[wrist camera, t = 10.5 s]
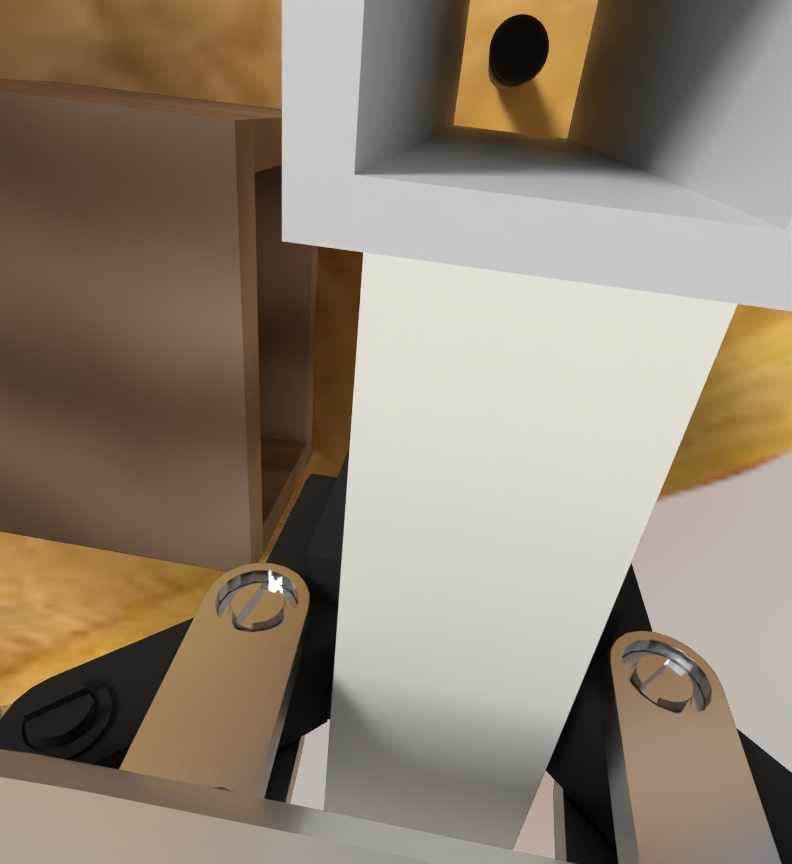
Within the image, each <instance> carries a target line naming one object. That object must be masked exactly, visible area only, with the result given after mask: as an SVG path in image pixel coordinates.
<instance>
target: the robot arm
mask: <svg viewBox="0 0 792 864" xmlns="http://www.w3.org/2000/svg"><path fill="white" fill-rule="evenodd" d="M349 449H350V448H349ZM348 464H349V451H348V453H347V455H346V458H345V460H344V463H343V465H342V468H341V470H340V472H339V475H338V477H337V478H335V477H329V476H323V475H318V474H311V475H310V476H309V477H308V479H307V481H306V483H305V485H304V487H303V489H302V491H301V493H300V495H299V497H298V499H297V501H296V503H295V505H294V507H293V509H292V511H291V513H290V515H289V517H288V519H287V521H286V523H285V525H284V528H283V530H282V532H281V534H280V536H279V538H278V540H277V542H276V544H275V546H274V548H273V550H272V552H271V554H270V556H269V558H268V560H267V562H266V563H254V564H249V565H243V566H240V567H237V568H235V569H233V570H231V571H228V572H226V573H225V574H224V575H222V576H221V577H220V578H218V579H217V580H216V581H215V582H214V583H213V585H212V586H211V587H210V589H209V590H208V591H207V593H206V595H205V597H204V599H203V601H202V603H201V605H200V607H199V609H198V611H197V613H196V615H195V617H194V618H192V619H190V620H187V621H185V622H182V623H180V624H178V625H175V626H173V627H170V628H168V629H166V630H163V631H161V632H159V633H156V634H154V635H151V636H149V637H147V638H144V639H142V640H139V641H137V642H135V643H132V644H130V645H127V646H125V647H123V648H120V649H118V650H115V651H113V652H111V653H108V654H106V655H103V656H101V657H99V658H96V659H94V660H91V661H89V662H87V663H84V664H82V665H79V666H77V667H75V668H72V669H70V670H68V671H65V672H63V673H60V674H58V675H56V676H53V677H51V678H49V679H47V680H45V681H43V682H41V683H40V684H38V685H36V686H34V687H32V688H31V689H29V690H28V691H27V692H26V693H24V694H23V695H22V696H21V697H19V698H18V699H17V700H16V701H15V702H14V703H13V704H9V705H4V706H0V864H792V773H791V772H790V771H789V770H787V769H786V768H785V767H784V766H782V765H781V764H780V763H779V762H778V761H776V760H775V759H774V758H773V757H771V756H770V755H769V754H768V753H766V752H765V751H764V750H763V749H761V748H760V747H759V746H758V745H757V744H755V743H754V742H753V741H752V740H750V739H749V738H748V737H746V736H745V735H744V734H743V733H742V732H740V731H739V730H738V729H737V728H736V726H735V723H734V720H733V717H732V714H731V711H730V708H729V705H728V702H727V699H726V696H725V693H724V690H723V687H722V685H721V683H720V681H719V679H718V677H717V675H716V673H715V672H714V671H713V670H712V668H711V667H710V666H709V665H708V664H707V662H706V661H705V660H704V659H703V658H702V657H701V656H699V655H698V654H697V653H696V652H694V651H693V650H692V649H691V648H689V647H688V646H686V645H684V644H683V643H681V642H679V641H677V640H675V639H673V638H671V637H668V636H665V635H662V634H659V633H656V632H652V628H651V625H650V622H649V619H648V615H647V612H646V609H645V606H644V602H643V600H642V596H641V593H640V590H639V586H638V583H637V580H636V577H635V573H634V570H633V567H632V564H630V567H629V569H628V571H627V574H626V576H625V579H624V581H623V584H622V586H621V588H620V591H619V593H618V596H617V598H616V601H615V603H614V605H613V608H612V610H611V613H610V615H609V618H608V620H607V622H606V625H605V627H604V630H603V632H602V635H601V637H600V639H599V642H598V644H597V647H596V649H595V651H594V654H593V656H592V659H591V661H590V664H589V666H588V668H587V671H586V673H585V676H584V678H583V681H582V683H581V685H580V688H579V690H578V693H577V695H576V698H575V700H574V702H573V705H572V707H571V710H570V712H569V715H568V717H567V719H566V722H565V724H564V727H563V729H562V732H561V734H560V736H559V739H558V741H557V744H556V746H555V749H554V751H553V753H552V756H551V758H550V761H549V763H548V765H547V768H546V771H547V772H548V773H549V774H550V775H551V776H552V778H553V779H554V780H555V782H554V789H553V805H554V806H553V807H554V837H555V859H551V858H546V857H541V856H537V855H531V854H527V853H522V852H518V851H513V850H508V849H504V848H499V847H494V846H489V845H485V844H480V843H475V842H470V841H466V840H461V839H456V838H451V837H447V836H442V835H437V834H432V833H428V832H423V831H418V830H413V829H408V828H404V827H399V826H394V825H389V824H385V823H380V822H375V821H370V820H366V819H361V818H356V817H351V816H346V815H342V814H337V813H332V812H327V811H322V810H317V809H312V808H307V807H303V806H297V805H292V804H290V801H291V797H292V793H293V788H294V784H295V780H296V775H297V771H298V766H299V762H300V758H301V753H302V749H303V744H304V735H305V734H307V733H309V732H310V731H312V730H314V729H315V728H317V727H319V726H320V725H322V724H324V723H325V722H327V719H330V718H331V704H332V690H333V675H334V661H335V647H336V633H337V619H338V605H339V591H340V577H341V562H342V548H343V534H344V520H345V506H346V492H347V478H348Z"/></svg>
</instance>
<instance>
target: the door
mask: <svg viewBox="0 0 792 864" xmlns="http://www.w3.org/2000/svg"><path fill="white" fill-rule="evenodd" d="M469 4H470V0H282V241H284V242H291V243H299V244H306V245H313V246H320V247H328V248H335V249H342V250H349V251H357V252H363V266H362V280H361V294H360V308H359V322H358V336H357V351H356V365H355V379H354V393H353V407H352V421H351V435H350V449H349V464H348V478H347V492H346V506H345V520H344V534H343V548H342V562H341V577H340V591H339V605H338V619H337V633H336V647H335V661H334V675H333V690H332V704H331V718H330V732H329V747H328V760H327V774H326V789H325V803H324V811H327V812H332V813H337V814H342V815H346V816H351V817H356V818H361V819H366V820H370V821H375V822H380V823H385V824H389V825H394V826H399V827H404V828H408V829H413V830H418V831H423V832H428V833H432V834H437V835H442V836H447V837H451V838H456V839H461V840H466V841H470V842H475V843H480V844H485V845H489V846H494V847H499V848H504V849H508V850H513V848H514V845H515V843H516V841H517V838H518V835H519V833H520V831H521V829H522V826H523V824H524V821H525V819H526V816H527V814H528V811H529V809H530V807H531V804H532V802H533V799H534V797H535V795H536V792H537V790H538V787H539V785H540V782H541V780H542V778H543V775H544V773H545V770H546V768H547V765H548V763H549V761H550V758H551V756H552V753H553V751H554V749H555V746H556V744H557V741H558V739H559V736H560V734H561V732H562V729H563V727H564V724H565V722H566V719H567V717H568V715H569V712H570V710H571V707H572V705H573V702H574V700H575V698H576V695H577V693H578V690H579V688H580V685H581V683H582V681H583V678H584V676H585V673H586V671H587V668H588V666H589V664H590V661H591V659H592V656H593V654H594V651H595V649H596V647H597V644H598V642H599V639H600V637H601V635H602V632H603V630H604V627H605V625H606V622H607V620H608V618H609V615H610V613H611V610H612V608H613V605H614V603H615V601H616V598H617V596H618V593H619V591H620V588H621V586H622V584H623V581H624V579H625V576H626V574H627V571H628V569H629V567H630V564H631V562H632V559H633V557H634V554H635V552H636V549H637V547H638V545H639V542H640V540H641V537H642V535H643V533H644V530H645V528H646V525H647V523H648V520H649V518H650V516H651V513H652V510H653V508H654V506H655V504H656V501H657V499H658V496H659V494H660V491H661V489H662V487H663V484H664V482H665V479H666V477H667V474H668V472H669V470H670V467H671V465H672V462H673V460H674V457H675V455H676V453H677V450H678V448H679V445H680V443H681V440H682V438H683V436H684V433H685V431H686V428H687V426H688V423H689V421H690V419H691V416H692V414H693V411H694V409H695V406H696V404H697V402H698V399H699V397H700V394H701V392H702V389H703V387H704V385H705V382H706V380H707V377H708V375H709V373H710V370H711V368H712V365H713V363H714V360H715V358H716V356H717V353H718V351H719V348H720V346H721V343H722V341H723V339H724V336H725V334H726V331H727V329H728V326H729V324H730V322H731V319H732V317H733V314H734V312H735V309H736V307H737V305H738V304H742V305H749V306H756V307H763V308H771V309H778V310H785V311H792V0H598V4H597V9H596V13H595V18H594V22H593V27H592V31H591V35H590V40H589V44H588V49H587V53H586V58H585V62H584V67H583V71H582V75H581V80H580V84H579V89H578V93H577V98H576V102H575V107H574V111H573V116H572V120H571V124H570V129H569V133H568V138H567V139H563V138H555V137H546V136H538V135H530V134H521V133H513V132H505V131H496V130H488V129H480V128H471V127H463V126H455V125H453V124H454V116H455V109H456V101H457V94H458V86H459V79H460V71H461V64H462V56H463V49H464V41H465V34H466V26H467V19H468V12H469Z"/></svg>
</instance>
